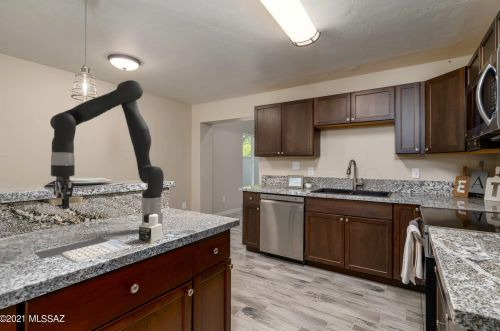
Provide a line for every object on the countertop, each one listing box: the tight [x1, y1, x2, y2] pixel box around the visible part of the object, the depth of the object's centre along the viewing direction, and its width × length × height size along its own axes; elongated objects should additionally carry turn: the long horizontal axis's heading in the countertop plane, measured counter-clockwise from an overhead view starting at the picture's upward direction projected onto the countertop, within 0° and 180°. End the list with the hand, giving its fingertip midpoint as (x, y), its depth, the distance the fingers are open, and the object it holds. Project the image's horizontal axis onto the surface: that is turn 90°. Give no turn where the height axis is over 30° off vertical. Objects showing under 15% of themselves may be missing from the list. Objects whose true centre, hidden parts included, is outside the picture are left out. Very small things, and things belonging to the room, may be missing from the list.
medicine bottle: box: [138, 213, 163, 245], centre depth 112 cm, size 7×7×12 cm
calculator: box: [61, 239, 130, 263], centre depth 97 cm, size 13×20×2 cm, turn 145°
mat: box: [33, 237, 110, 259], centre depth 101 cm, size 24×9×1 cm, turn 146°
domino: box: [48, 195, 84, 206], centre depth 99 cm, size 4×2×10 cm
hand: (62, 207), depth 98 cm, fingers closed on domino, 4 cm apart
